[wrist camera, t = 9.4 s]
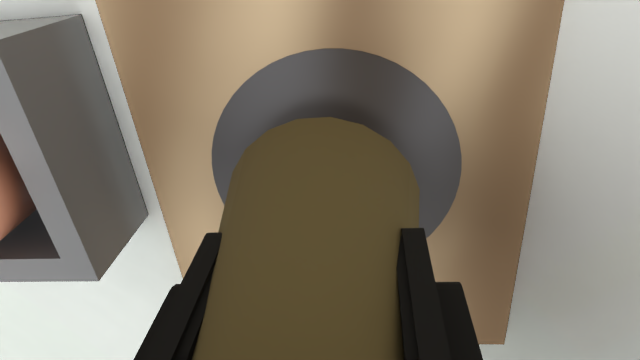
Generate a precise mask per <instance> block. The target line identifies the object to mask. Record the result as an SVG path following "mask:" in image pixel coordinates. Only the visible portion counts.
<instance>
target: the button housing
mask: <svg viewBox="0 0 640 360" xmlns="http://www.w3.org/2000/svg"><path fill="white" fill-rule="evenodd" d="M0 134H1V136H2V138H3V140H4V142H5V144H6V146H7V148H8V150H9V152H10V154H11V156H12V158H13V161H14V163H15V165H16V167H17V169H18V171H19V173H20V175H21V177H22V179H23V181H24V183H25V186H26V188H27V190H28V192H29V194H30V196H31V198H32V200H33V202H34V204H35V206H36V208H37V209H36V210H35V211H34V212H33V213H32V214H31V215H29V216H28V217H27V218H26V219H25V220H24V221H23V222H21V223H20V224H19V225H18V226H17V227H16V228H14V229H13V230H12V231H11V232H10V233H9V234H7V235H6V236H5V237H4V238H3V239H2V240H1V241H0V282H39V281H99V280H100V279H101V277H102V276H103V275H104V273H105V272H106V271H107V269H108V268H109V267H110V265H111V264H112V263H113V261H114V260H115V259H116V257H117V256H118V255H119V253H120V252H121V251H122V249H123V248H124V247H125V245H126V244H127V243H128V241H129V240H130V239H131V237H132V236H133V235H134V233H135V232H136V231H137V229H138V228H139V227H140V225H141V224H142V223H143V221H144V220H145V219H146V217H147V216H148V213H147V210H146V207H145V204H144V201H143V198H142V195H141V192H140V189H139V186H138V183H137V180H136V177H135V174H134V171H133V168H132V165H131V162H130V159H129V156H128V153H127V150H126V147H125V144H124V141H123V138H122V135H121V132H120V129H119V126H118V123H117V120H116V117H115V114H114V111H113V108H112V105H111V102H110V99H109V96H108V93H107V90H106V87H105V84H104V81H103V78H102V75H101V72H100V69H99V66H98V63H97V60H96V57H95V54H94V51H93V48H92V45H91V42H90V40H89V37H88V34H87V31H86V28H85V25H84V22H83V19H82V16H81V14H80V15H68V16H56V17H44V18H32V19H19V20H7V21H0Z"/></svg>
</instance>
